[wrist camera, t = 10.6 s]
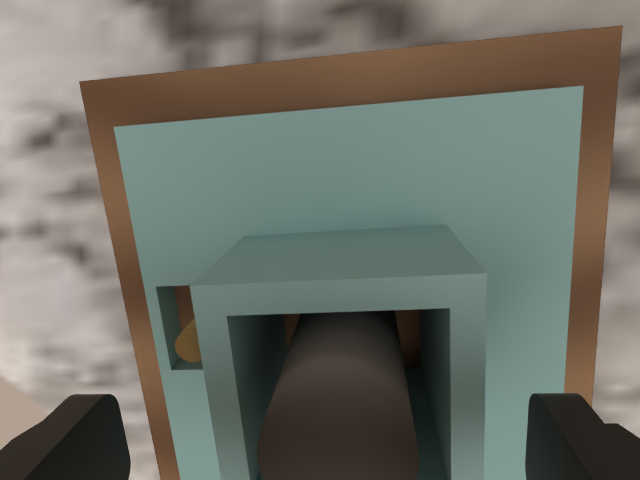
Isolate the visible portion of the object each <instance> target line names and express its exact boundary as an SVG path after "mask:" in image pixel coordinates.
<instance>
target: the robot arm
mask: <svg viewBox="0 0 640 480" xmlns="http://www.w3.org/2000/svg"><path fill="white" fill-rule="evenodd" d="M130 464H131V463H130V455H129V450H128V445H127V441H126V436H125V431H124V427H123V422H122V417H121V413H120V408H119V404H118V401H117V399H116V398H115V397H114V396H113V395H111V394H75V395H71V396H70V397H68V398H67V399H66V400H64V401H63V402H62V403H61V404H60V405H59V406H58V407H57V408H56V409H55V410H54V411H53V412H52V413H51V414H50V415H48V416H47V417H46V418H45V419H44V420H43V421H42V422H40V423H39V424H37V425H35V426H33V427H32V428H30V429H29V430H27V431H25V432H24V433H22V434H20V435H19V436H17V437H16V438H14V439H12V440H11V441H10V442H9V443H8V444H7V445H6V446H5V447H3V449H1V450H0V480H128V479H129V474H130ZM525 473H526V480H640V438H638V437H637V436H635V435H634V434H632V433H631V432H629V431H628V430H626V429H625V428H623V427H622V426H620V425H619V424H604V423H603V421H602V420H601V419H600V418H599V416H598V415H597V414H596V413H595V411H594V410H593V409H592V408H591V406H590V405H589V404H588V403H587V401H586V400H585V399H584V398H583V397H582V396H581V395H580V394H578V393H533V394H532V395H531V397H530V400H529V407H528V423H527V440H526V456H525Z"/></svg>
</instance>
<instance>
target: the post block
mask: <svg viewBox="0 0 640 480" xmlns="http://www.w3.org/2000/svg"><path fill="white" fill-rule="evenodd" d="M622 26H623V25H622ZM622 26H612V27H602V28H593V29H583V30H573V31H564V32H554V33H544V34H535V35H525V36H515V37H506V38H496V39H486V40H477V41H467V42H457V43H448V44H438V45H428V46H419V47H409V48H399V49H390V50H380V51H370V52H361V53H351V54H341V55H332V56H322V57H312V58H303V59H293V60H283V61H274V62H264V63H254V64H245V65H235V66H225V67H216V68H206V69H196V70H187V71H177V72H167V73H158V74H148V75H138V76H129V77H119V78H109V79H100V80H90V81H80V82H79V83H80V88H81V93H82V98H83V103H84V108H85V112H86V117H87V122H88V127H89V132H90V137H91V142H92V147H93V151H94V156H95V161H96V166H97V171H98V176H99V181H100V186H101V191H102V195H103V200H104V205H105V210H106V215H107V220H108V225H109V230H110V234H111V239H112V244H113V249H114V254H115V259H116V264H117V269H118V273H119V278H120V283H121V288H122V293H123V298H124V303H125V308H126V313H127V317H128V322H129V327H130V332H131V337H132V342H133V347H134V352H135V356H136V361H137V366H138V371H139V376H140V381H141V386H142V391H143V395H144V400H145V405H146V410H147V415H148V420H149V425H150V430H151V435H152V439H153V444H154V449H155V454H156V459H157V464H158V469H159V474H160V478H161V480H180V474H179V469H178V464H177V459H176V453H175V448H174V443H173V438H172V432H171V427H170V422H169V417H168V411H167V406H166V401H165V395H164V390H163V385H162V380H161V374H160V369H159V364H158V359H157V353H156V348H155V343H154V337H153V332H152V327H151V322H150V316H149V311H148V306H147V301H146V295H145V290H144V285H143V279H142V274H141V269H140V264H139V258H138V253H137V248H136V243H135V237H134V232H133V227H132V221H131V216H130V211H129V206H128V200H127V195H126V190H125V185H124V179H123V174H122V169H121V164H120V158H119V153H118V148H117V142H116V137H115V132H114V127H119V126H130V125H141V124H153V123H164V122H175V121H187V120H198V119H210V118H221V117H232V116H244V115H255V114H266V113H278V112H289V111H301V110H312V109H323V108H335V107H346V106H357V105H369V104H380V103H392V102H403V101H414V100H426V99H437V98H449V97H460V96H471V95H483V94H494V93H505V92H517V91H528V90H540V89H551V88H562V87H574V86H584V88H583V104H582V119H581V135H580V150H579V166H578V181H577V196H576V212H575V227H574V243H573V258H572V274H571V289H570V305H569V320H568V336H567V351H566V366H565V382H564V393H578V394H580V395H581V396H582V397H583V398H584V399H585V400H586V401H587V403H588V404H589V405H590V406H591V408H592V396H593V384H594V371H595V359H596V347H597V334H598V322H599V310H600V297H601V285H602V273H603V260H604V248H605V236H606V223H607V211H608V199H609V186H610V174H611V162H612V149H613V137H614V125H615V112H616V100H617V88H618V75H619V63H620V51H621V38H622ZM174 291H175V297H176V302H177V308H178V314H179V320H180V326H181V332H182V333H181V334H180V335H179V336H178V337H177V339H176V341H175V350H176V352H177V354H178V355H179V356H180V357H181V358H182V359H183V360H185V361H188V362H199V361H201V360H202V359H201V353H200V347H199V341H198V335H197V328H196V322H195V316H194V310H193V304H192V298H191V291H190V285H182V286H174ZM284 319H285V328H286V337H287V346H288V352H287V355H286V358H285V361H284V364H283V367H282V369H281V372H280V375H279V378H278V381H277V384H276V387H275V390H274V393H273V396H272V399H271V402H270V405H269V408H268V411H267V414H266V417H265V420H264V423H263V425H262V428H261V431H260V435H259V439H258V444H257V460H258V464H259V469H260V471H261V474H262V477H263V479H264V480H416V479H417V475H418V470H419V454H418V447H417V441H416V435H415V429H414V423H413V416H412V410H411V404H410V398H409V392H408V386H407V380H406V374H405V368H421V354H420V316H419V309H414V310H384V311H355V312H326V313H296V314H284Z"/></svg>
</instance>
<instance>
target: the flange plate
mask: <svg viewBox="0 0 640 480" xmlns="http://www.w3.org/2000/svg"><path fill="white" fill-rule="evenodd" d="M583 88H584V86H574V87H562V88H551V89H540V90H528V91H517V92H505V93H494V94H483V95H471V96H460V97H449V98H437V99H426V100H414V101H403V102H392V103H380V104H369V105H357V106H346V107H335V108H323V109H312V110H301V111H289V112H278V113H266V114H255V115H244V116H232V117H221V118H210V119H198V120H187V121H175V122H164V123H153V124H141V125H130V126H119V127H114V132H115V137H116V142H117V148H118V153H119V158H120V164H121V169H122V174H123V179H124V185H125V190H126V195H127V200H128V206H129V211H130V216H131V221H132V227H133V232H134V237H135V243H136V248H137V253H138V258H139V264H140V269H141V274H142V279H143V285H144V290H145V295H146V301H147V306H148V311H149V316H150V322H151V327H152V332H153V337H154V343H155V348H156V353H157V359H158V364H159V369H160V374H161V380H162V385H163V390H164V395H165V401H166V406H167V411H168V417H169V422H170V427H171V432H172V438H173V443H174V448H175V453H176V459H177V464H178V469H179V474H180V480H264V479H263V477H262V474H261V471H260V469H259V464H258V460H257V444H258V439H259V435H260V431H261V428H262V425H263V423H264V420H265V417H266V414H267V411H268V408H269V405H270V402H271V399H272V396H273V393H274V390H275V387H276V384H277V381H278V378H279V375H280V372H281V369H282V367H283V364H284V361H285V358H286V355H287V352H288V346H287V337H286V328H285V319H284V314H296V313H326V312H355V311H384V310H414V309H419V316H420V354H421V368H405V374H406V380H407V386H408V392H409V398H410V404H411V410H412V416H413V423H414V429H415V435H416V441H417V447H418V454H419V470H418V475H417V479H416V480H526V473H525V456H526V440H527V423H528V407H529V400H530V397H531V395H532V394H533V393H564V382H565V366H566V351H567V336H568V320H569V305H570V289H571V274H572V258H573V243H574V227H575V212H576V196H577V181H578V166H579V150H580V135H581V119H582V104H583ZM182 285H190V291H191V298H192V304H193V310H194V316H195V322H196V328H197V335H198V341H199V347H200V353H201V359H202V360H201V361H199V362H188V361H185V360H183V359H182V358H181V357H180V356H179V355H178V354H177V352H176V350H175V341H176V339H177V337H178V336H179V335H180V334H181V333H182V332H181V326H180V320H179V314H178V308H177V302H176V297H175V291H174V286H182Z"/></svg>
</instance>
